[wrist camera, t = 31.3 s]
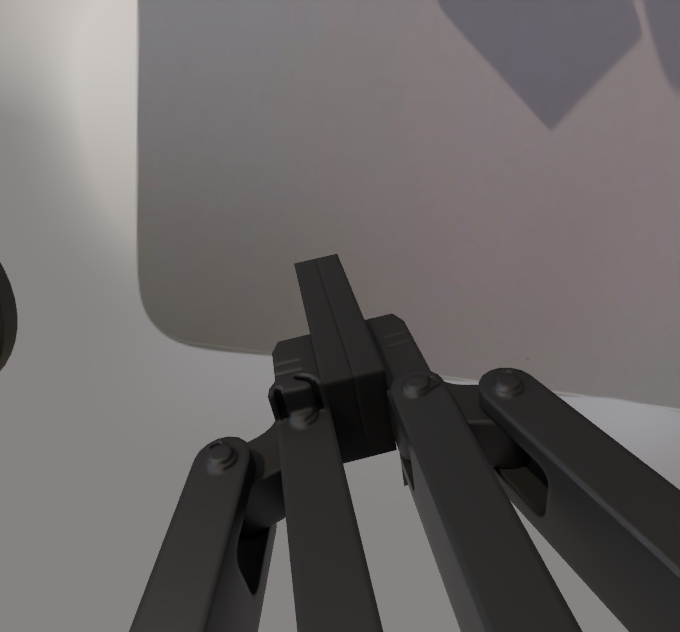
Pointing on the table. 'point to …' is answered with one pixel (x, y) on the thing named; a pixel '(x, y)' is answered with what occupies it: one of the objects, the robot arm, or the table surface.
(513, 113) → the table surface
